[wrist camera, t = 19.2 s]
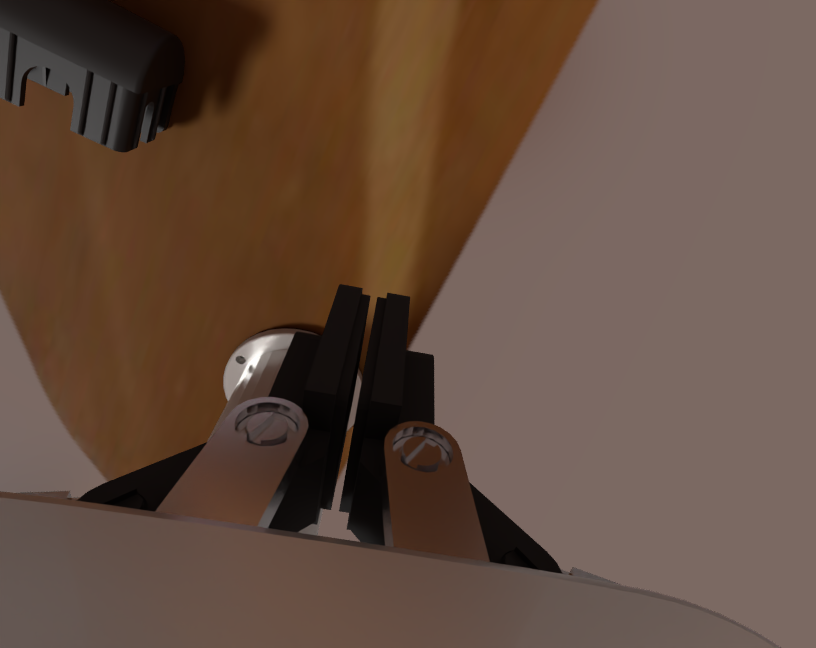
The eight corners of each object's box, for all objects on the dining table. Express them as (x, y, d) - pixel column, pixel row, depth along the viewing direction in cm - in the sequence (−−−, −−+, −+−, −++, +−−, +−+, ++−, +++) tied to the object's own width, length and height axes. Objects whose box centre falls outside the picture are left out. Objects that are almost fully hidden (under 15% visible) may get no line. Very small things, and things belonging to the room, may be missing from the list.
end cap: (199, 33, 33) (150, 38, 28) (173, 136, 37) (124, 160, 31) (37, -51, 31) (-53, -65, 26) (25, 66, 35) (-56, 77, 29)
